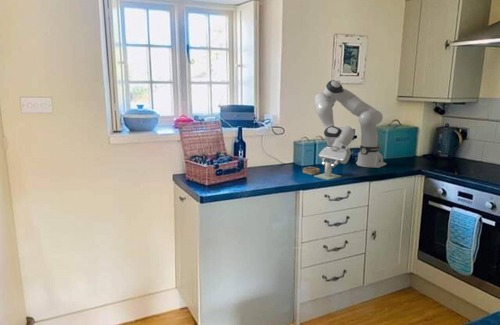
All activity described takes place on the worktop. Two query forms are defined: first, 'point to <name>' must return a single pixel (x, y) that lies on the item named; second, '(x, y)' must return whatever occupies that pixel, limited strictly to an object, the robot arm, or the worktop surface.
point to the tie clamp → (311, 170)
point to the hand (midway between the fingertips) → (327, 165)
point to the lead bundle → (328, 168)
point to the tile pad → (327, 177)
